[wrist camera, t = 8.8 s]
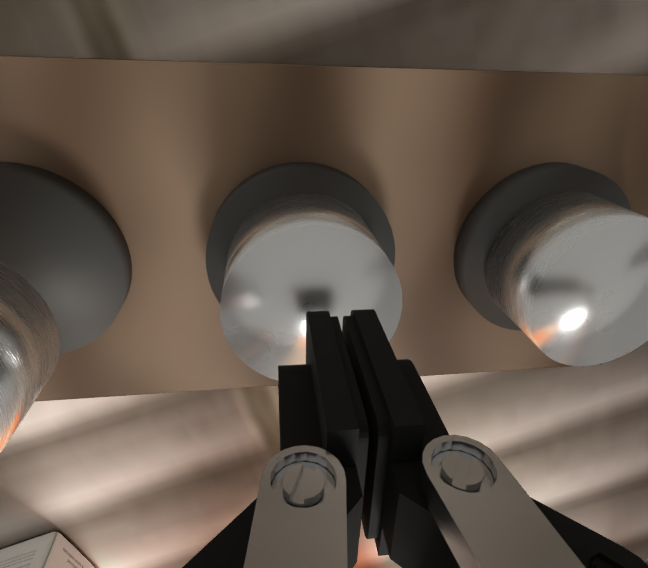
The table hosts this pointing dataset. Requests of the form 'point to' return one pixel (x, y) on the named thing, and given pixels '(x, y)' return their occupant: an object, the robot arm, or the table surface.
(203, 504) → the table surface
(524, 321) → the plunger
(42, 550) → the ink box
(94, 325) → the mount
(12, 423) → the grey short cylinder
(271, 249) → the plunger
